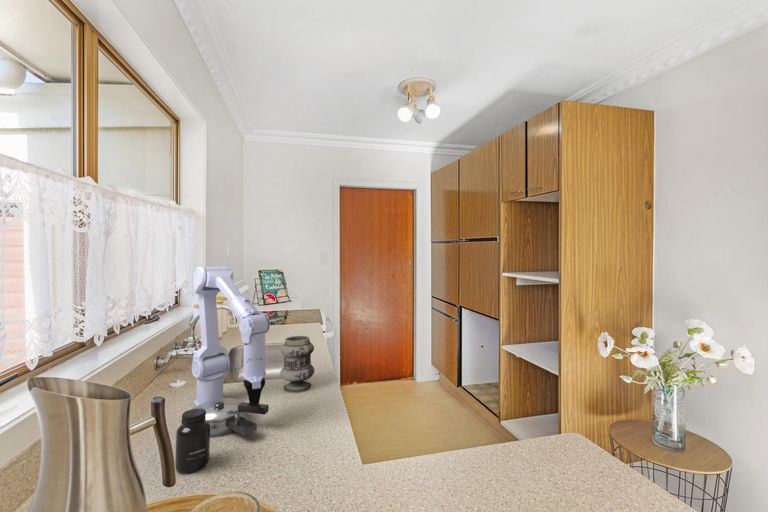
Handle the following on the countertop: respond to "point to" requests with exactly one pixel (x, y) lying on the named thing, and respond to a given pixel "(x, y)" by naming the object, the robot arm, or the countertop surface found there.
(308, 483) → the countertop surface
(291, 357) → the apothecary jar
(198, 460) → the supplement bottle
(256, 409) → the lid
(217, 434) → the pot
